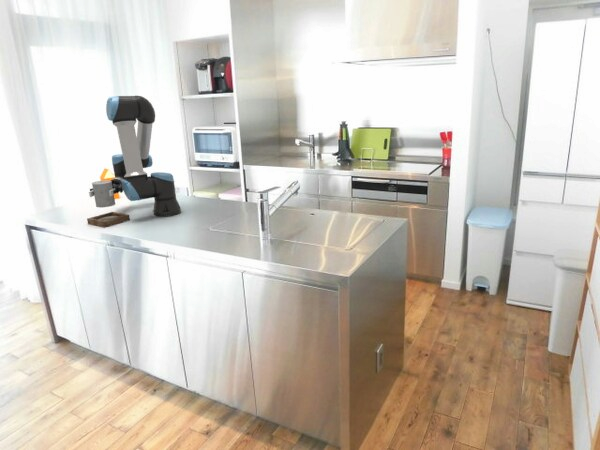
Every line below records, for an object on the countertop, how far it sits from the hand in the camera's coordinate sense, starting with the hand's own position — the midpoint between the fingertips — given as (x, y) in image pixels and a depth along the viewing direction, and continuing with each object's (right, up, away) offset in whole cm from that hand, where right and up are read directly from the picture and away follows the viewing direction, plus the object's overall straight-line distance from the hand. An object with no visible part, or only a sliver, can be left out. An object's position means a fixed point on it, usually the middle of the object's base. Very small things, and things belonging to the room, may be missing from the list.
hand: (100, 194), depth 215 cm
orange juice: (-23, +2, +64) cm, 68 cm away
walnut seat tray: (+1, -14, +9) cm, 17 cm away
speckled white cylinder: (0, -6, +6) cm, 8 cm away
